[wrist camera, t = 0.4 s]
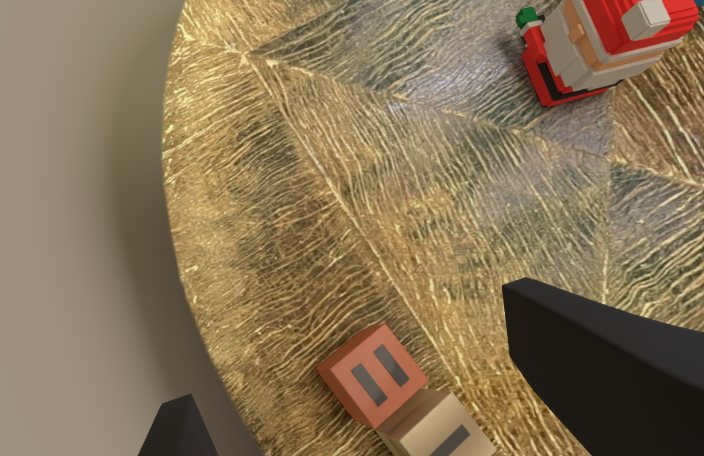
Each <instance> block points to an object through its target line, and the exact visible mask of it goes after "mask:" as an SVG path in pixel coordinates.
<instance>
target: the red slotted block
mask: <svg viewBox="0 0 704 456" xmlns="http://www.w3.org/2000/svg"><path fill="white" fill-rule="evenodd" d="M316 371H317V372H318V373H319V375H320V376H321V377H322V378H323V380H324V381H325V382H326V384H327V385H328V386H329V388H330V389H331V390H332V392H333V393H334V394H335V396H336V397H337V398H338V400H339V401H340V402H341V404H342V405H343V406H344V408H345V409H346V410H347V412H348V413H349V414H350V415H351V417H352V418H353V419H354V420H356V421H358V422H360V423H362V424H365V425H367V426H369V427H372V428H374V429H376V428H377V427H378V426H380V425H381V424H382V423H383V422H384V421H385V420H386V419H387V418H388V417H390V416H391V415H392V414H393V413H394V412H395V411H396V410H397V409H398V408H400V407H401V406H402V405H403V404H404V403H405V402H406V401H407V400H408V399H410V398H411V397H412V396H413V395H414V394H415V393H416V392H417V391H418V390H420V389H421V388H422V387H423V386H424V385H425V384H426V383H427V382H428V381H429V379H428V378H427V377H426V375H425V374H424V373H423V372H422V370H421V369H420V368H419V366H418V365H417V364H416V363H415V361H414V360H413V359H412V357H411V356H410V355H409V353H408V352H407V351H406V350H405V348H404V347H403V346H402V344H401V343H400V342H399V341H398V339H397V338H396V337H395V335H394V334H393V333H392V331H391V330H390V329H389V328H388V326H387V325H386V324H385V323H384V324H381V325H377V326H374V327H370V328H367V329H363V330H362V331H360V332H359V333H358V334H357V335H356V336H354V337H353V338H352V339H351V340H350V341H348V342H347V343H346V344H345V345H343V346H342V347H341V348H340V349H339V350H337V351H336V352H335V353H334V354H333V355H331V356H330V357H329V358H328V359H326V360H325V361H324V362H323V363H322V364H320V365H319V366H318V367H317V368H316Z"/></svg>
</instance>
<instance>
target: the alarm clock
mask: <svg viewBox="0 0 704 456" xmlns="http://www.w3.org/2000/svg"><path fill="white" fill-rule="evenodd" d="M694 2H695V4H696V6H704V0H694Z"/></svg>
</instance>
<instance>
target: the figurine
mask: <svg viewBox="0 0 704 456" xmlns="http://www.w3.org/2000/svg"><path fill="white" fill-rule="evenodd" d="M698 14H699V11H698V8H697V6H696V4H695V2H694V0H562V1H561V2H560V3H559V4H558V6H557V7H556V8H555V10H554V11H553V12H552V13H551V14H550V15H549V16H548V17H547V18H546V19H545V17H544V15H540V16H537V15H536V13H535V11H534V8H533V7H529V8H524V9H521V10H520V12H519V13H518V14H517V15H516V22H517V25H518V27H520V29H521V31H520V32H519V33H520V35H521V36H523V38H524V40H525V43H526V44H525V48H527V49H526V50H525V51H524V52H523V55H522V56H521V57H522V59H523V61H524V64H525V66H526V68H527V71H528V73H529V75H530V78H531V80H532V83H533V85H534V87H535V90H536V92H537V94H538V97H539V99H540V102H541V104H542V106H543V105H544V106H545V105H546V106H547V107H550V106H553V105H557V104H561V103H565V102H569V101H572V100H576V99H580V98H584V97H587V96H591V95H595V94H599V93H602V92H604V91H605V90H607V89H608V88H609V87H612V86H616V85H617V84H619V83H620V82H621V81H623V79H625V78H629V77H633V76H636V75H639V74H640V73H642V72H643V71H645V70H646V69H647V68H649V67H650V66H652V65H653V64H654V63H656V62H657V61H659V60H660V59H661V58H660V56H661V55H662V54H663V53H664V51H665V50H666V49H668V48H672V47H676V46H677V45H679V44H680V43H682V39H683V38H684V37H683V35H685V34H686V33H688V32H689V31H690V30H692V29H693V28H694V27H693V25H694V24H695V22H696V21H698V20H699V17H698Z"/></svg>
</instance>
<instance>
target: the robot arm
mask: <svg viewBox="0 0 704 456" xmlns="http://www.w3.org/2000/svg"><path fill="white" fill-rule="evenodd" d="M502 292H503V301H504V310H505V319H506V327H507V336H508V345H509V354H510V357H511V359H512V360H513V362H514V363H515V365H516V366H517V368H518V369H519V371H520V372H521V374H522V375H523V377H524V378H525V379H526V381H527V382H528V384H529V385H530V386H531V388H532V389H533V391H534V392H535V393H536V394H537V395H538V396H539V398H540V399H541V400H542V401H543V402H544V403H545V404H546V405H547V407H548V408H549V409H550V410H551V411H552V412H553V413H554V414H555V416H556V417H557V418H558V419H559V420H560V421H561V422H562V423H563V424H564V426H565V427H566V428H567V429H568V430H569V431H570V432H571V433H572V434H573V435H574V437H575V438H576V439H577V440H578V441H579V442H580V443H581V444H582V445H583V446H584V448H585V449H586V450H587V451H588V452H589V453H590V454H591V455H592V456H704V332H700V331H695V330H691V329H686V328H682V327H678V326H674V325H670V324H666V323H662V322H659V321H655V320H652V319H649V318H645V317H642V316H638V315H635V314H632V313H628V312H625V311H622V310H619V309H616V308H613V307H610V306H607V305H604V304H601V303H598V302H595V301H593V300H590V299H587V298H584V297H581V296H579V295H576V294H573V293H570V292H568V291H565V290H562V289H559V288H557V287H554V286H551V285H548V284H546V283H543V282H540V281H537V280H534V279H530V278H527V277H524V278H522V279H519V280H516V281H513V282H510V283H507V284H504V285H502ZM138 456H218V454H217V451H216V449H215V447H214V445H213V442H212V440H211V438H210V435H209V433H208V431H207V428H206V426H205V424H204V422H203V419H202V417H201V415H200V412H199V410H198V408H197V406H196V404H195V401H194V399H193V396H192V394H188V395H186V396H183V397H180V398H177V399H174V400H171V401H168V402H165V403H163V404H162V405H161V407H160V409H159V411H158V413H157V415H156V417H155V419H154V421H153V424H152V426H151V428H150V430H149V433H148V435H147V437H146V439H145V441H144V443H143V446H142V448H141V450H140V452H139V454H138Z"/></svg>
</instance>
